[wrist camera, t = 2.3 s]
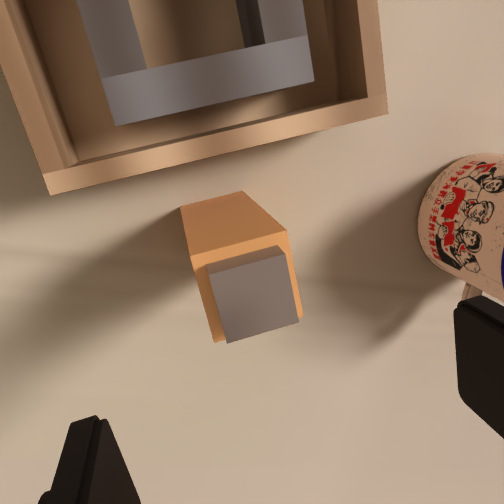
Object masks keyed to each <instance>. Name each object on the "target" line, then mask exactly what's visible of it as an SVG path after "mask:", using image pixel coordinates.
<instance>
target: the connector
mask: <svg viewBox="0 0 504 504" xmlns="http://www.w3.org/2000/svg"><path fill="white" fill-rule="evenodd" d="M180 210H181V215H182V220H183V225H184V230H185V235H186V239H187V244H188V249H189V254H190V258H191V262H192V266H193V269H194V273H195V276H196V280H197V283H198V287H199V290H200V294H201V297H202V301H203V305H204V308H205V312H206V315H207V319H208V322H209V326H210V329H211V333H212V336H213V340H214V343H216V342H219V341H222V340H226V342H227V343H231V342H234V341H237V340H241V339H244V338H247V337H251V336H254V335H258V334H261V333H264V332H268V331H271V330H274V329H278V328H281V327H284V326H288V325H291V324H294V323H298V322H299V320H298V318H300V317H303V311H302V306H301V301H300V296H299V291H298V286H297V280H296V275H295V270H294V265H293V260H292V255H291V249H290V244H289V239H288V234H287V230H286V229H285V228H284V227H283V226H282V225H280V224H279V223H278V222H277V221H276V220H275V219H274V218H273V217H271V216H270V215H269V214H268V213H267V212H266V211H265V210H264V209H262V208H261V207H260V206H259V205H258V204H257V203H256V202H255V201H253V200H252V199H251V198H250V197H249V196H248V195H247V194H246V193H244V192H243V191H240V192H236V193H232V194H228V195H224V196H220V197H216V198H213V199H209V200H205V201H201V202H197V203H193V204H189V205H185V206H181V207H180Z"/></svg>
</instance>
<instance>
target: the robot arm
mask: <svg viewBox="0 0 504 504" xmlns="http://www.w3.org/2000/svg"><path fill="white" fill-rule="evenodd" d="M453 315H454V331H455V346H456V362H457V378H458V390H459V394H460V396H461V398H462V400H463V401H464V403H465V404H466V405H467V406H468V407H470V408H471V409H472V410H473V411H474V412H475V413H476V414H477V415H478V416H479V417H480V418H482V419H483V420H484V421H485V422H486V423H487V424H488V425H489V426H490V427H491V428H492V429H494V430H495V431H496V432H497V433H498V434H499V435H500V436H501V437H502V438H503V439H504V306H502V305H500V304H498V303H496V302H494V301H492V300H490V299H489V298H487V297H485V296H482V295H479V296H475V297H472V298H469V299H466V300H462V301H460V302H459V303H458V305H457V308H456V309H455V310H454V314H453ZM38 504H141V502H140V499H139V496H138V494H137V491H136V489H135V486H134V484H133V481H132V479H131V476H130V474H129V471H128V469H127V466H126V464H125V462H124V459H123V457H122V454H121V452H120V449H119V447H118V444H117V442H116V439H115V437H114V434H113V432H112V430H111V427H110V425H109V422H108V421H107V419H102V420H100V419H99V418H98V417H97V416H96V415H94V416H91V417H88V418H85V419H82V420H78V421H75V422H72V423H71V425H70V427H69V430H68V433H67V437H66V440H65V443H64V447H63V450H62V453H61V457H60V460H59V463H58V467H57V470H56V474H55V477H54V480H53V484H52V487H51V490H50V491H47V492H45V493H44V494H43V495H42V496H41V498H40V500H39V502H38Z"/></svg>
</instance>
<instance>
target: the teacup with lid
mask: <svg viewBox="0 0 504 504" xmlns="http://www.w3.org/2000/svg"><path fill="white" fill-rule="evenodd" d="M418 235H419V240H420V243H421V246H422V248H423V250H424V252H425V254H426V255H427V257H428V258H429V259H430V260H431V261H432V262H433V263H434V264H435V265H436V266H438V267H439V268H441V269H443V270H445V271H447V272H448V273H450V274H452V275H454V276H456V277H458V278H460V279H462V280H463V281H465V282H466V284H465V287H464V291H463V294H462V300H466V299H469V298H472V297H475V296H479V295H482V291H484V292H486V293H488V294H489V295H491V296H493V297H495V298H497V299H499V300H501V301H503V302H504V155H500V154H490V153H481V154H474V155H470V156H467V157H464V158H462V159H460V160H458V161H456V162H454V163H453V164H451V165H450V166H448V167H447V168H446V169H445V170H443V171H442V172H441V173H440V174H439V175H438V176H437V177H436V179H435V180H434V181H433V182H432V184H431V185H430V187H429V189H428V190H427V192H426V194H425V196H424V198H423V201H422V203H421V207H420V210H419V216H418ZM462 300H461V301H462Z"/></svg>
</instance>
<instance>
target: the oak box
mask: <svg viewBox="0 0 504 504" xmlns="http://www.w3.org/2000/svg"><path fill="white" fill-rule="evenodd" d="M0 65H1V68H2V70H3V73H4V76H5V78H6V81H7V83H8V86H9V89H10V91H11V94H12V96H13V99H14V102H15V104H16V107H17V110H18V112H19V115H20V117H21V120H22V123H23V125H24V128H25V130H26V133H27V136H28V138H29V141H30V144H31V146H32V149H33V151H34V154H35V157H36V159H37V162H38V164H39V167H40V170H41V172H42V175H43V178H44V180H45V183H46V185H47V188H48V191H49V193H50V196H51V195H55V194H59V193H63V192H67V191H71V190H75V189H80V188H84V187H88V186H92V185H96V184H100V183H104V182H109V181H113V180H117V179H121V178H125V177H129V176H133V175H137V174H142V173H146V172H150V171H154V170H158V169H162V168H166V167H171V166H175V165H179V164H183V163H187V162H191V161H195V160H200V159H204V158H208V157H212V156H216V155H220V154H224V153H228V152H233V151H237V150H241V149H245V148H249V147H253V146H257V145H262V144H266V143H270V142H274V141H278V140H282V139H286V138H290V137H295V136H299V135H303V134H307V133H311V132H315V131H319V130H324V129H328V128H332V127H336V126H340V125H344V124H348V123H352V122H357V121H361V120H365V119H369V118H373V117H377V116H381V115H386V114H388V104H387V94H386V84H385V74H384V64H383V54H382V43H381V33H380V23H379V13H378V3H377V0H0Z"/></svg>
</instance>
